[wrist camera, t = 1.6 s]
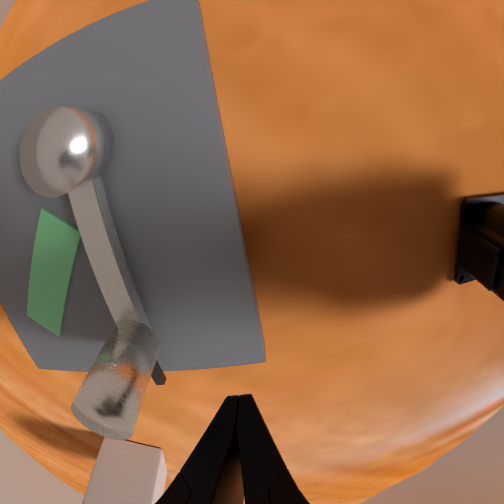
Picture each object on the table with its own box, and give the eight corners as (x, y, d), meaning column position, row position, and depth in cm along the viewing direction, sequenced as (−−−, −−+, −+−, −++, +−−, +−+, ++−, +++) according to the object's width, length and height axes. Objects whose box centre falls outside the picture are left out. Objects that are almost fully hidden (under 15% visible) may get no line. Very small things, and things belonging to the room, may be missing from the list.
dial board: (199, 2, 11) (192, -14, 9) (264, 342, 20) (266, 363, 18) (-31, 120, 13) (-49, 123, 11) (48, 354, 21) (37, 370, 19)
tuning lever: (46, 124, 12) (-52, 137, 5) (106, 97, 11) (8, 84, 5) (137, 376, 18) (108, 458, 12) (190, 374, 18) (173, 466, 11)
